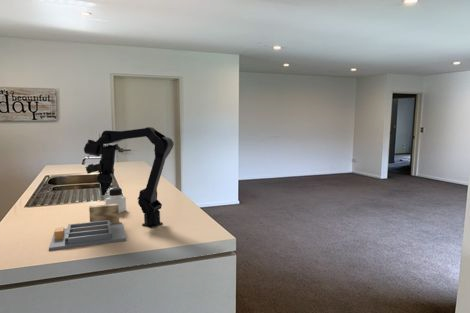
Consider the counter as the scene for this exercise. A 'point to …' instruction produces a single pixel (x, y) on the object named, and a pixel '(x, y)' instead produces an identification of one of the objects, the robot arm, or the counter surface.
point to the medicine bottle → (116, 199)
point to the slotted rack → (87, 234)
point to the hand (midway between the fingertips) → (103, 192)
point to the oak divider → (104, 213)
